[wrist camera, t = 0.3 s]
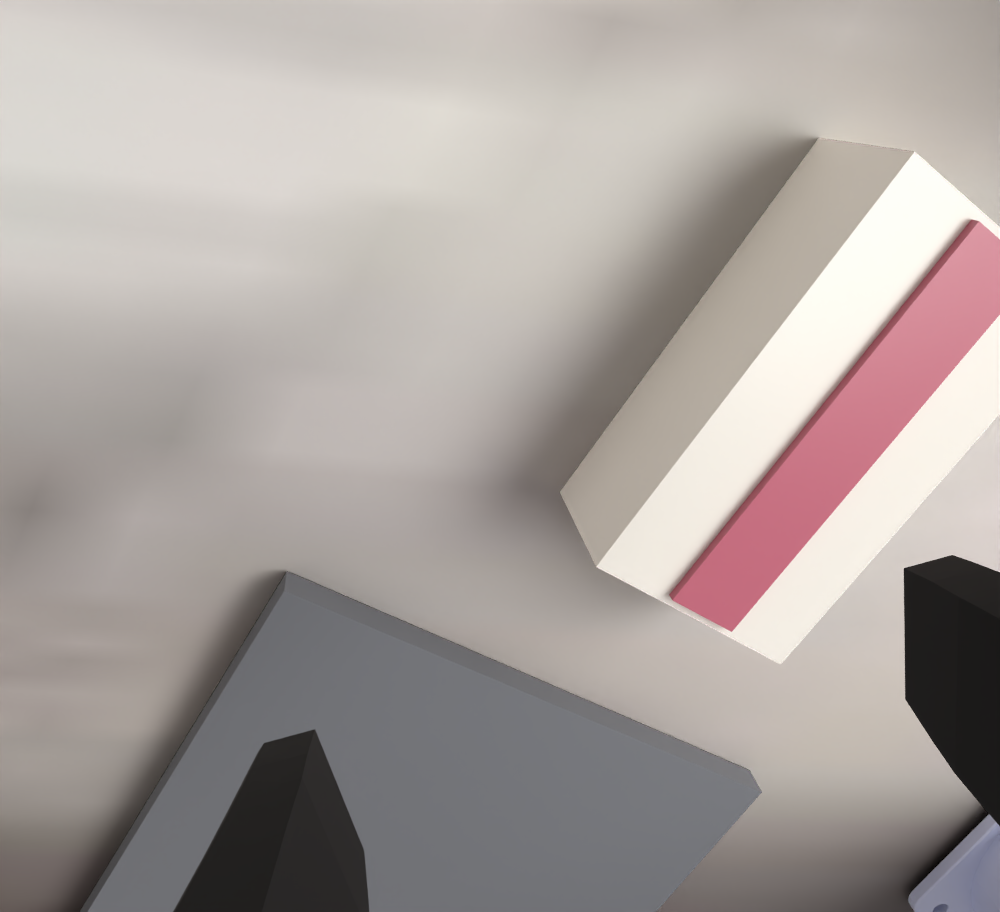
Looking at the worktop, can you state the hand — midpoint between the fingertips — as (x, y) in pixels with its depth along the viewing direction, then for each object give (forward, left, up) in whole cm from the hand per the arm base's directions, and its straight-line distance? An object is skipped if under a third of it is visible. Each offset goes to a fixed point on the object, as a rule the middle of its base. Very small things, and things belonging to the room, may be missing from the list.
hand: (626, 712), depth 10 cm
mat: (-5, +11, -9) cm, 15 cm away
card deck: (-5, -4, -9) cm, 11 cm away
